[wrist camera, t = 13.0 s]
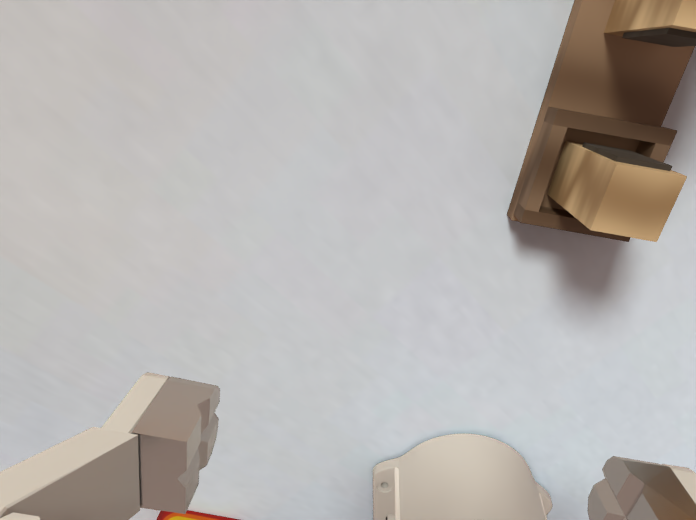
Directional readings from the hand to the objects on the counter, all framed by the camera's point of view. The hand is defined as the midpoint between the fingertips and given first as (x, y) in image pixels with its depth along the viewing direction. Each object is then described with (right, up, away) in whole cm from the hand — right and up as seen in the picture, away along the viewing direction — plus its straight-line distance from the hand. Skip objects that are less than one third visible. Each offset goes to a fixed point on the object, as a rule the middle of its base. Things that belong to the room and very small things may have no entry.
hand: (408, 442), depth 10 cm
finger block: (+16, +10, +24) cm, 31 cm away
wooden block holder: (+17, +15, +24) cm, 33 cm away
